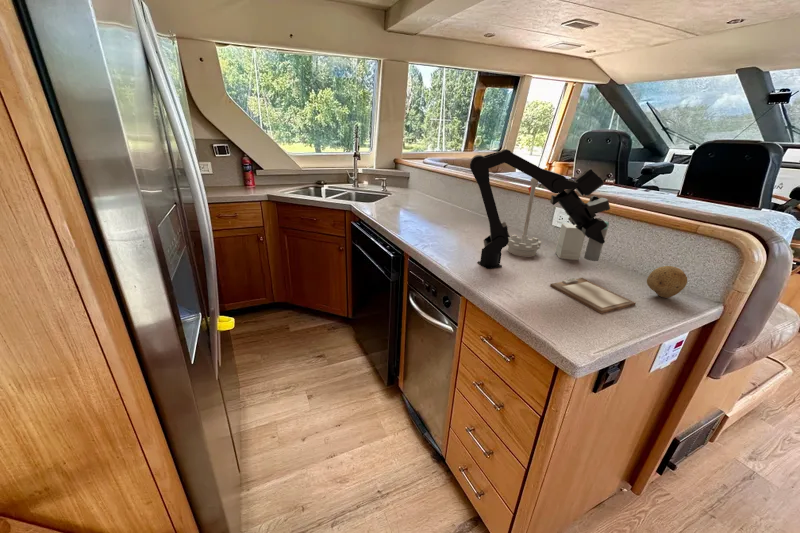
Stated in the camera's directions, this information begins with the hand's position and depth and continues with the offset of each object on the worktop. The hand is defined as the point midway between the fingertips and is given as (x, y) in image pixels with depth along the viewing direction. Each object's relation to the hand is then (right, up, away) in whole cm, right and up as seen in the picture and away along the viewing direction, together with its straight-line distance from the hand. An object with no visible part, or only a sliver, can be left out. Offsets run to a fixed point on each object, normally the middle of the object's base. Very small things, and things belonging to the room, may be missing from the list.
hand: (600, 240), depth 109 cm
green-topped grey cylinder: (-2, -6, +3) cm, 7 cm away
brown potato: (+12, -18, -9) cm, 24 cm away
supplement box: (0, -5, +22) cm, 22 cm away
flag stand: (-17, -3, +25) cm, 31 cm away
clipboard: (-9, -17, -10) cm, 22 cm away
